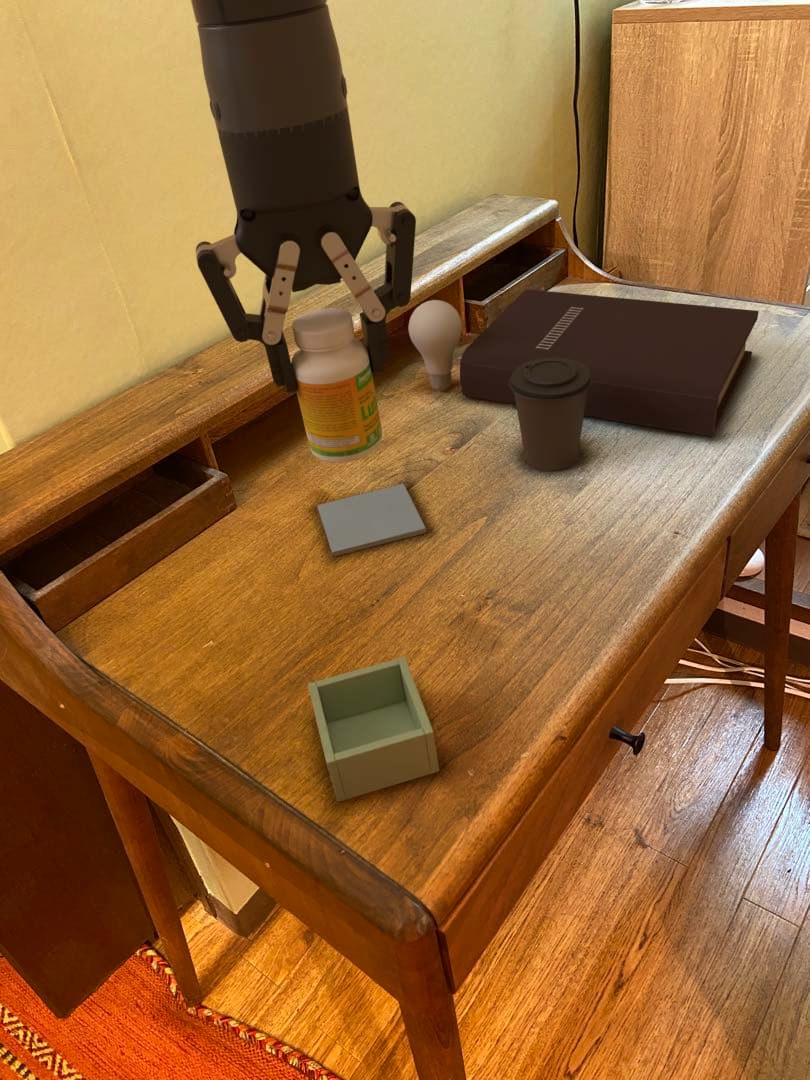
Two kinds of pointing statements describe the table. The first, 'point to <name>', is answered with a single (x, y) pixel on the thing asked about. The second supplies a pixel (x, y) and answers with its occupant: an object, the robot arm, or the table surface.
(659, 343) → the book
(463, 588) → the table surface
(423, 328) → the lightbulb
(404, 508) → the mat
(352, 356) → the supplement bottle
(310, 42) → the robot arm
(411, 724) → the caddy
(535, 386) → the coffee cup
